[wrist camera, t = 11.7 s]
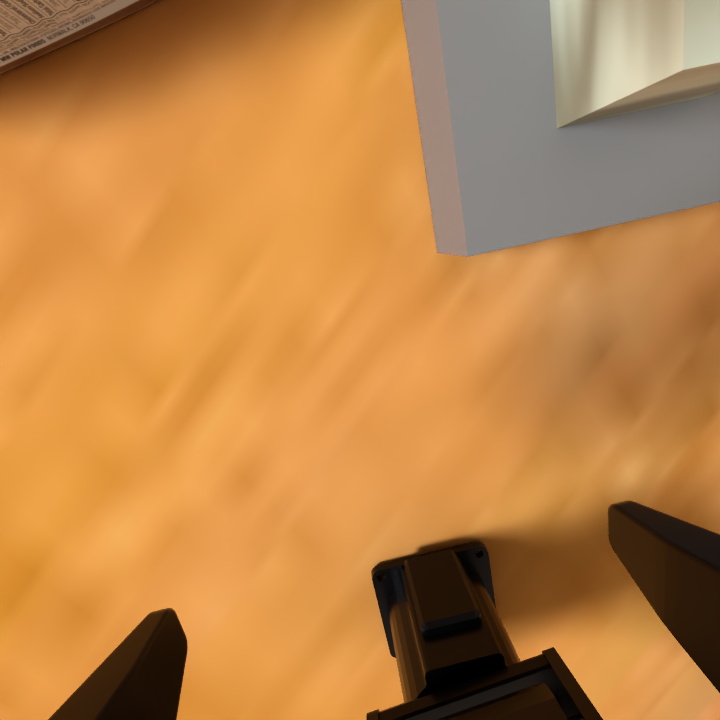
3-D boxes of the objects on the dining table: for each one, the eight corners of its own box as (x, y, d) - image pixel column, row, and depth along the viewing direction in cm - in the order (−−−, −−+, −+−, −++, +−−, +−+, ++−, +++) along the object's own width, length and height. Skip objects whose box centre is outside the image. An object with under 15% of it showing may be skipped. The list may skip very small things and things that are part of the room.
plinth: (693, 197, 19) (788, 186, 15) (437, 252, 18) (468, 256, 15) (704, -144, 15) (832, -271, 12) (389, -83, 15) (412, -193, 11)
